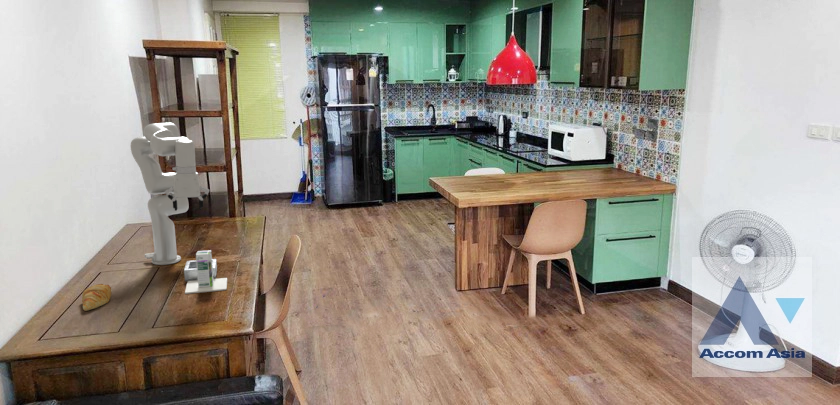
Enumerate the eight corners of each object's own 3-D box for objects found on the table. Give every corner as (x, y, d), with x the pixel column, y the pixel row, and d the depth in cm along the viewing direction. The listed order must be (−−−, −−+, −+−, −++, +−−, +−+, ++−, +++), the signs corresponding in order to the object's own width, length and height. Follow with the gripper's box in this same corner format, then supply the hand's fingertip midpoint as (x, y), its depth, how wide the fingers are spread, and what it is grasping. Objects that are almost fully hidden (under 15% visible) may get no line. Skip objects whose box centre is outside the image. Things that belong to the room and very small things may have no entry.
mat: (184, 293, 227) (184, 292, 227) (187, 282, 239) (187, 281, 239) (226, 290, 232) (226, 288, 231) (227, 279, 244) (227, 277, 243)
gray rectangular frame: (185, 281, 240) (184, 270, 239) (188, 266, 258) (188, 256, 257) (215, 278, 244) (215, 267, 243) (217, 264, 261) (216, 254, 260)
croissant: (95, 321, 209) (103, 303, 208) (67, 310, 206) (76, 292, 205) (115, 297, 229) (123, 281, 228) (90, 288, 227) (98, 271, 226)
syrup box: (198, 287, 232) (195, 254, 228) (199, 282, 237) (197, 250, 234) (212, 286, 233) (210, 253, 230) (213, 281, 239) (211, 249, 235)
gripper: (162, 172, 226) (165, 212, 230) (207, 171, 231) (209, 211, 236) (164, 168, 233) (167, 207, 237) (208, 167, 238) (210, 206, 243)
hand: (188, 209), depth 236 cm, fingers open, 9 cm apart
